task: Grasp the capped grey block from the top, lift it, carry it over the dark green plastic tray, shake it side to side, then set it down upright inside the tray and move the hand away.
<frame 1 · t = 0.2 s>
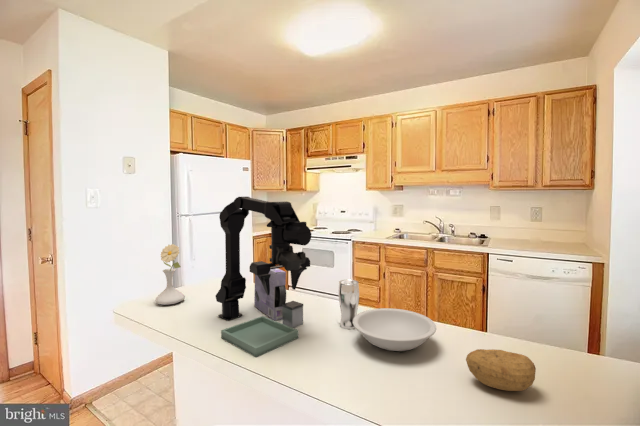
hand: (281, 292, 100), 14 cm above the counter, tool pointing down, fingers open, 9 cm apart
tray: (259, 338, 100), on the counter
potato: (499, 387, 74), on the counter
flower in vase: (171, 303, 134), on the counter
beer glass: (349, 326, 109), on the counter
soup bowl: (393, 344, 96), on the counter
cake pan box: (269, 313, 122), on the counter
capped grey block: (292, 324, 111), on the counter
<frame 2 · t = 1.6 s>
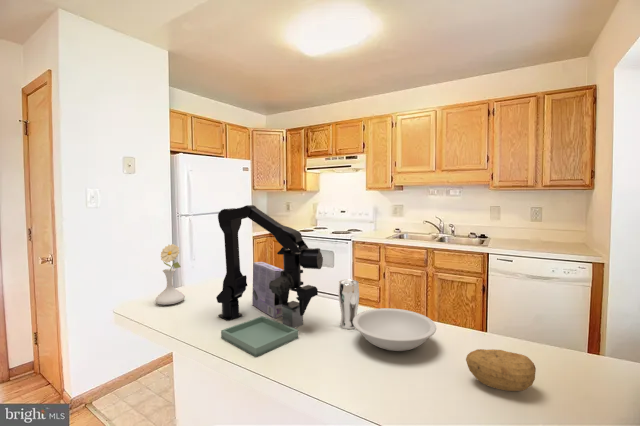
hand: (293, 312, 110), 4 cm above the counter, tool pointing down, fingers open, 8 cm apart
cake pan box: (268, 311, 124), on the counter
everything else where it was.
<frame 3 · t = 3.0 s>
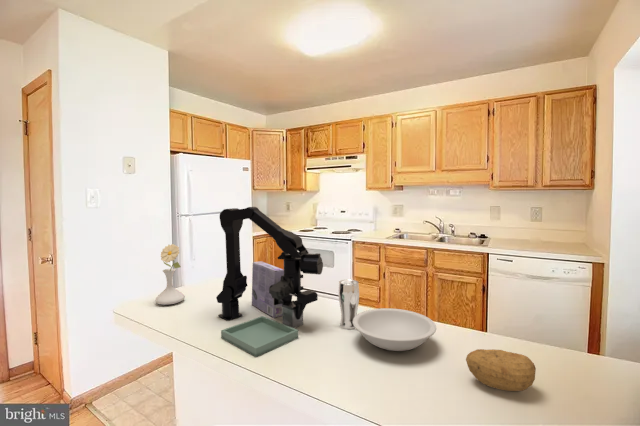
hand: (292, 317, 110), 3 cm above the counter, tool pointing down, fingers closed on capped grey block, 5 cm apart
capped grey block: (293, 324, 111), on the counter, touching gripper
everything else where it was.
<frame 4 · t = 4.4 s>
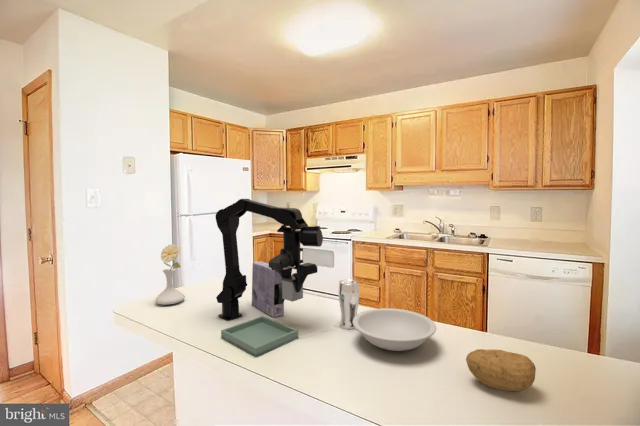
hand: (292, 290, 110), 12 cm above the counter, tool pointing down, fingers closed on capped grey block, 5 cm apart
capped grey block: (292, 298, 110), point 9 cm above the counter, touching gripper
everything else where it was.
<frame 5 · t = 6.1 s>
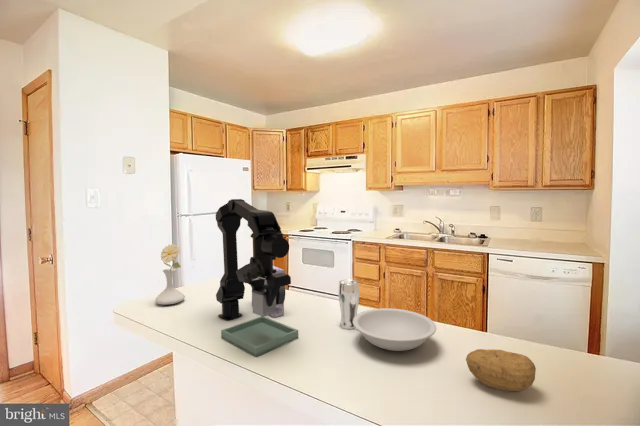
hand: (264, 304, 98), 11 cm above the counter, tool pointing down, fingers closed on capped grey block, 5 cm apart
capped grey block: (264, 312, 98), point 9 cm above the counter, touching gripper
everything else where it was.
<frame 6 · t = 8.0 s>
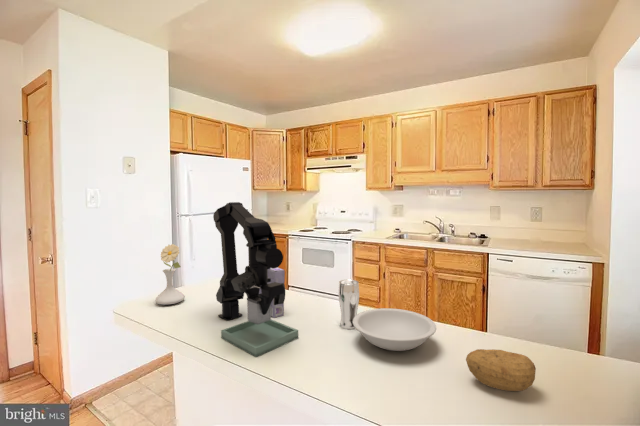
hand: (259, 312, 100), 8 cm above the counter, tool pointing down, fingers closed on capped grey block, 5 cm apart
capped grey block: (259, 320, 100), point 6 cm above the counter, touching gripper
everything else where it was.
when the fingers open (4 cm above the counter, at t = 9.6 s): capped grey block drops 1 cm, resting on tray.
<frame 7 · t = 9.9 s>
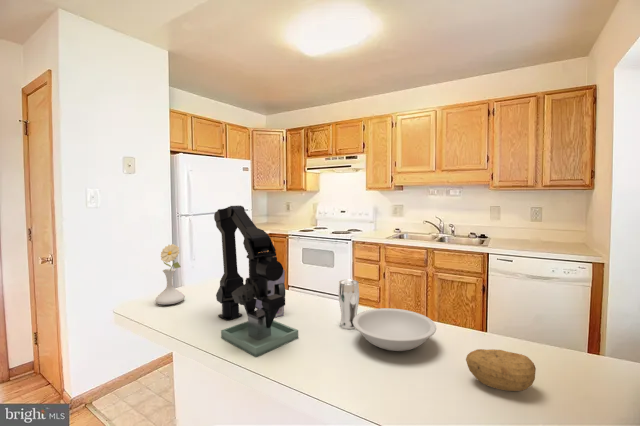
hand: (259, 323, 100), 4 cm above the counter, tool pointing down, fingers open, 9 cm apart
capped grey block: (259, 335, 100), point 1 cm above the counter, touching tray
everything else where it was.
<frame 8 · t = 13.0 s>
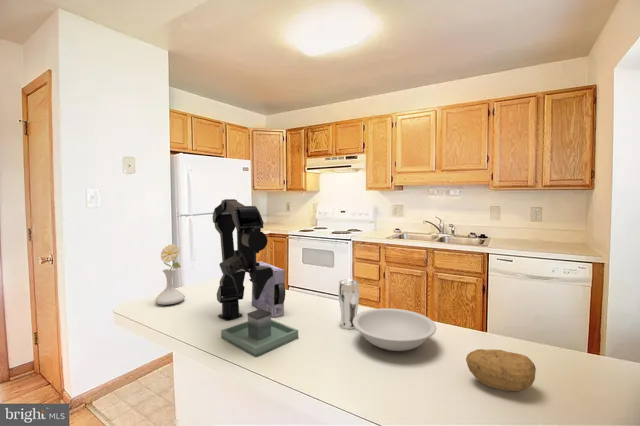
hand: (247, 296, 100), 13 cm above the counter, tool pointing down, fingers open, 9 cm apart
nothing on the counter moved.
at the end: capped grey block inside the target area on the tray (0.0 cm from its centre), point 0.8 cm above the tray's base; capped grey block tilted 0°; the gripper is holding nothing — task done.
